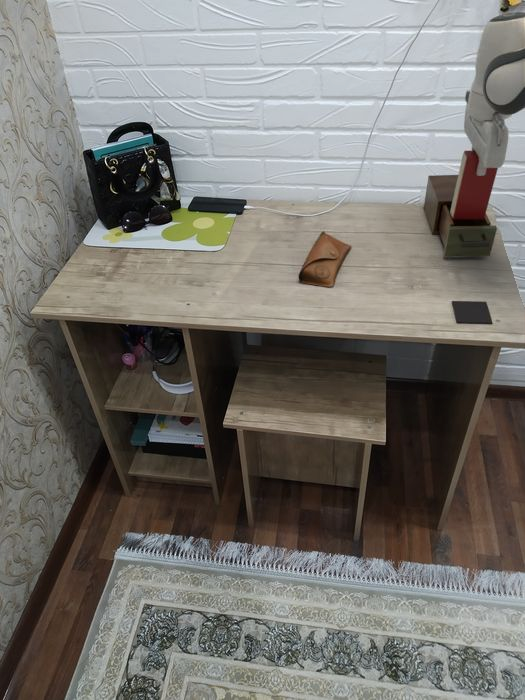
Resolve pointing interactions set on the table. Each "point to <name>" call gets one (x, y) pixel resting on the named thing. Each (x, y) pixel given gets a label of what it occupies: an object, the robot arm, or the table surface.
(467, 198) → the book
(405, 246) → the table surface
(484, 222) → the drawer
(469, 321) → the coaster
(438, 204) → the cabinet
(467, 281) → the table surface
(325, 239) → the sunglasses case
